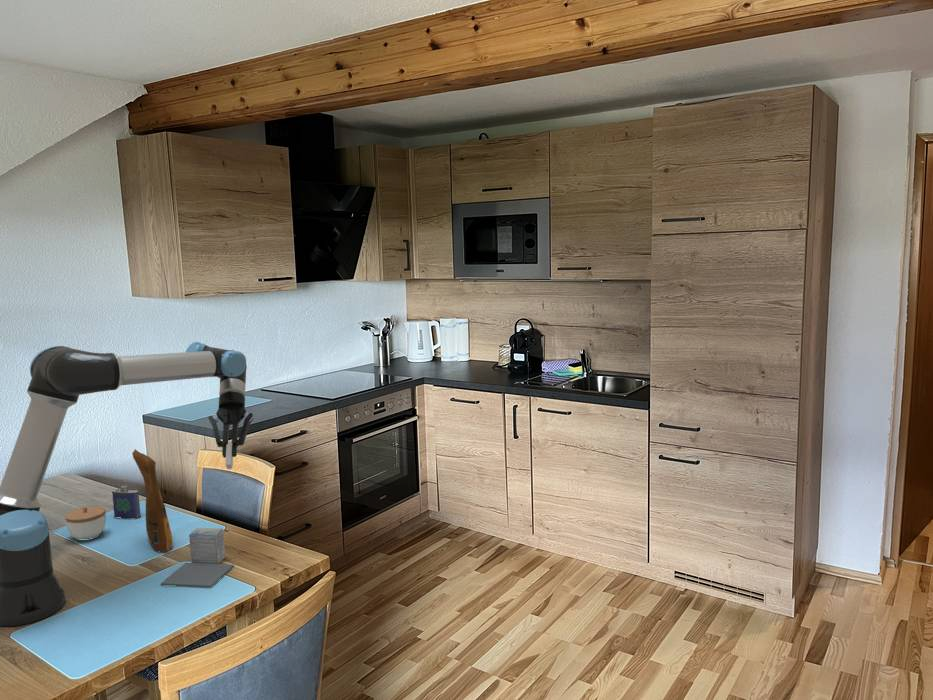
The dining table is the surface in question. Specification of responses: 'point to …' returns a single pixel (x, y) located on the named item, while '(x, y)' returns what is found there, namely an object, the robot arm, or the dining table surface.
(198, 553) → the medicine box
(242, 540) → the dining table surface
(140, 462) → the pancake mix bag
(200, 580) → the mat
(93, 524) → the lidded jar
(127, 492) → the flask
